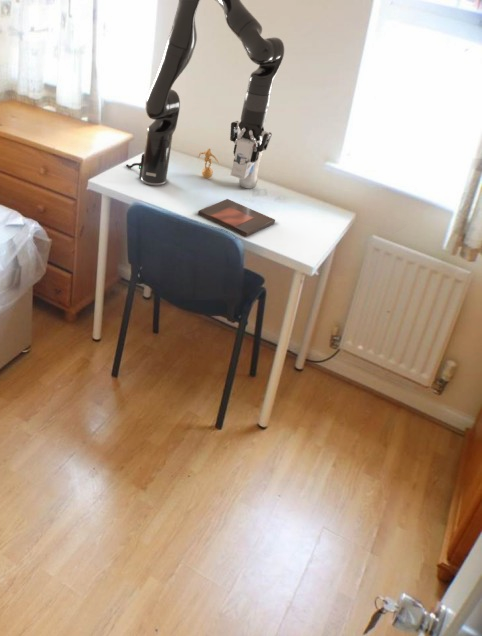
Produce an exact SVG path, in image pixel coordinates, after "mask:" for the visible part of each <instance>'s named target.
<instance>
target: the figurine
mask: <svg viewBox="0 0 482 636" xmlns="http://www.w3.org/2000/svg"><path fill="white" fill-rule="evenodd" d="M211 151H212V149H211V148H208V149H207V150H205V151H202V152H199V153H198V155H197V159H199V158H200V156H201V155H204V156H205V157H204V158H203V160H204V162H205V163H204V168H203V169H202V171H201V175H202V177H203V178H205V179H210V178H212V176H213V175H214V174H213V173H214V172H213V169H212V168H211V165H212V163H213V162H212V158H214V160H215V161H216V162H217V163H219V161H218V159H217V157H216V156H215V155H213V153H212V152H211ZM211 157H212V158H211ZM208 163H209V164H208ZM207 165H208V167H207Z"/></svg>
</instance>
